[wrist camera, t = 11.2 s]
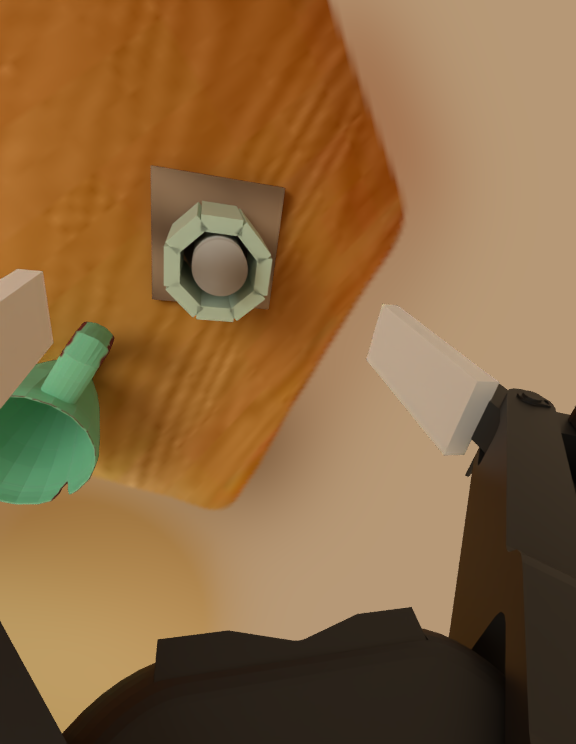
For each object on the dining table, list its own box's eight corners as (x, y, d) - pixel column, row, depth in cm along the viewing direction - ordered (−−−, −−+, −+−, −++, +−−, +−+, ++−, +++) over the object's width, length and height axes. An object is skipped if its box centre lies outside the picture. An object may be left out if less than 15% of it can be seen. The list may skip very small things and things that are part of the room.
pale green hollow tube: (171, 196, 28) (163, 208, 22) (264, 210, 29) (277, 225, 24) (170, 287, 31) (163, 316, 26) (254, 295, 33) (263, 324, 28)
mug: (92, 440, 38) (59, 520, 30) (-16, 397, 34) (-90, 476, 25) (168, 329, 34) (157, 385, 26) (57, 264, 30) (-1, 305, 21)
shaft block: (152, 165, 28) (132, 166, 20) (282, 187, 30) (310, 195, 23) (153, 295, 32) (137, 336, 25) (267, 305, 35) (285, 346, 27)
